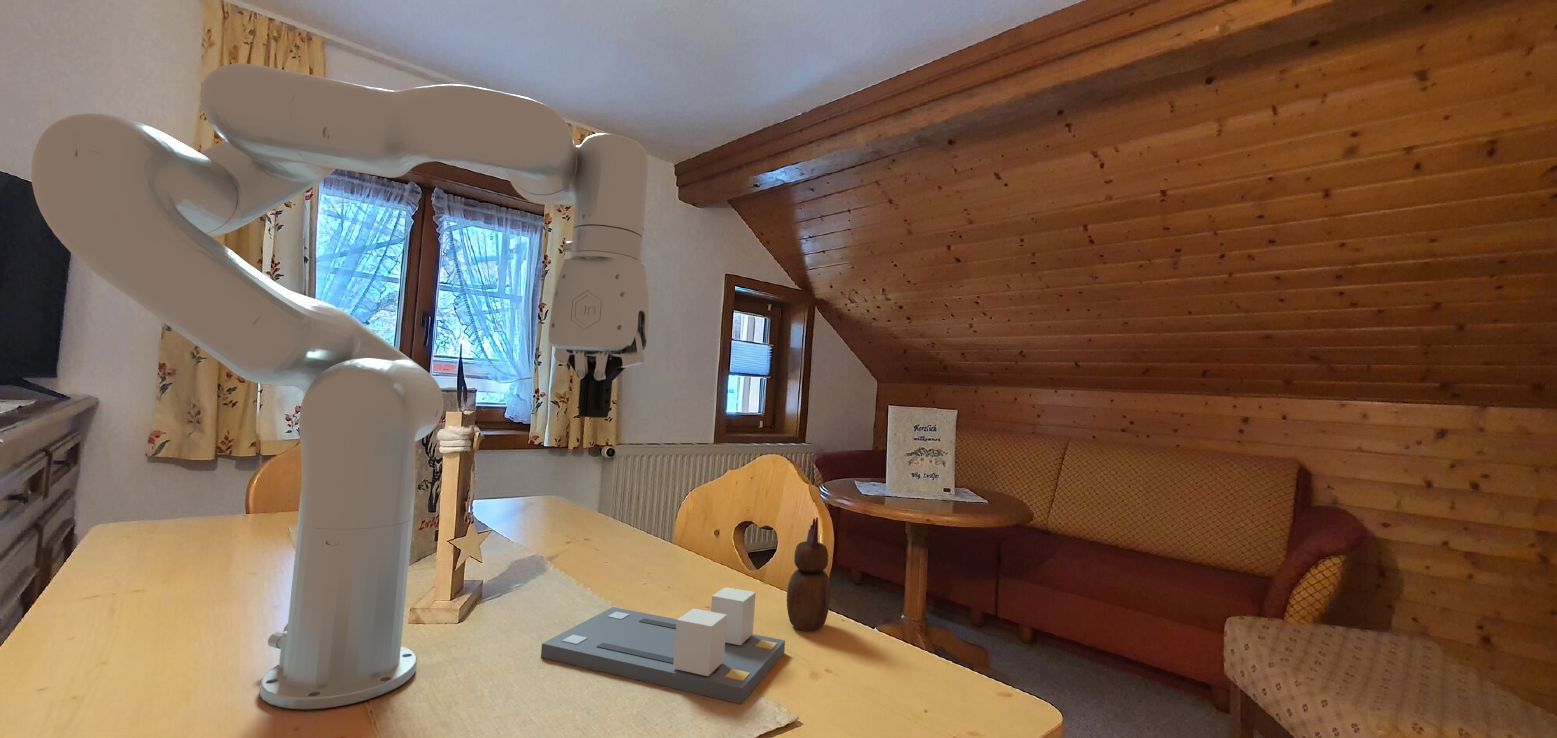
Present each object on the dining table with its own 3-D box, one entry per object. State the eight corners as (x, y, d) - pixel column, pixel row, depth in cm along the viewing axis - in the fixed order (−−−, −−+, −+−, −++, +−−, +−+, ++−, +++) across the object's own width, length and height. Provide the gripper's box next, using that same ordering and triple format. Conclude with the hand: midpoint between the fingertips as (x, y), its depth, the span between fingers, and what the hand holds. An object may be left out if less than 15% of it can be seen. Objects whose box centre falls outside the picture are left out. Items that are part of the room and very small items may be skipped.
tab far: (708, 639, 74) (711, 595, 74) (722, 628, 78) (725, 587, 78) (740, 645, 73) (743, 601, 73) (752, 633, 76) (755, 592, 77)
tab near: (673, 668, 65) (676, 619, 66) (690, 654, 69) (693, 608, 69) (708, 676, 64) (711, 626, 64) (723, 661, 68) (726, 614, 68)
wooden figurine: (824, 638, 81) (832, 521, 82) (781, 632, 82) (788, 516, 83) (831, 621, 88) (837, 512, 89) (790, 615, 89) (797, 508, 90)
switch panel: (540, 657, 70) (542, 642, 70) (611, 618, 83) (612, 606, 83) (741, 703, 62) (742, 687, 62) (784, 652, 76) (785, 639, 76)
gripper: (528, 243, 68) (513, 412, 68) (649, 241, 64) (635, 422, 63) (571, 259, 76) (558, 412, 75) (683, 258, 71) (670, 421, 70)
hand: (593, 416), depth 69 cm, fingers closed
